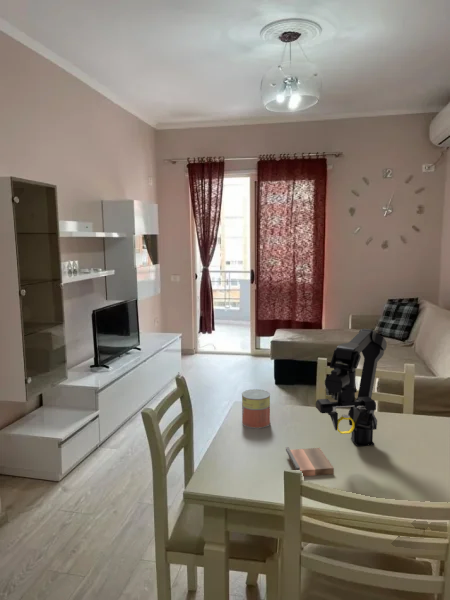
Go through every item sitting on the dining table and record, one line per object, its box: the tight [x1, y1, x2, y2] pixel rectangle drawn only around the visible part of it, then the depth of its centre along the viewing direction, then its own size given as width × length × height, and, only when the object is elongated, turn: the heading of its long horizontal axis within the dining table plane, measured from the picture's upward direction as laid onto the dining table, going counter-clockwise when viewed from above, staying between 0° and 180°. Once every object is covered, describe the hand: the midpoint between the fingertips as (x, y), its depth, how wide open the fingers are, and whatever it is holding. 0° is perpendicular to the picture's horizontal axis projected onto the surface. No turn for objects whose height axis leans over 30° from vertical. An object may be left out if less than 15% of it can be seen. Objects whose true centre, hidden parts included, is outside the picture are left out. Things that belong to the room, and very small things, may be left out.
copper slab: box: [285, 446, 335, 477], centre depth 151 cm, size 12×14×3 cm
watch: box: [337, 414, 355, 435], centre depth 151 cm, size 6×3×6 cm, turn 97°
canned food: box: [241, 388, 271, 429], centre depth 184 cm, size 11×11×12 cm
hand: (345, 429), depth 152 cm, fingers closed on watch, 6 cm apart
